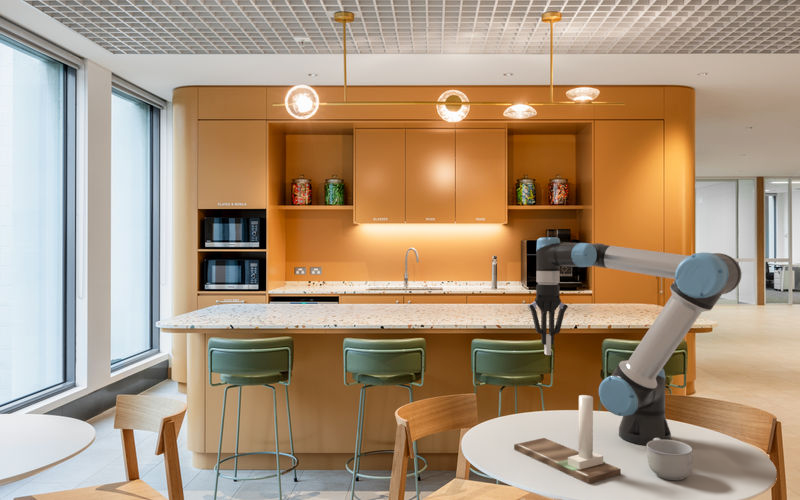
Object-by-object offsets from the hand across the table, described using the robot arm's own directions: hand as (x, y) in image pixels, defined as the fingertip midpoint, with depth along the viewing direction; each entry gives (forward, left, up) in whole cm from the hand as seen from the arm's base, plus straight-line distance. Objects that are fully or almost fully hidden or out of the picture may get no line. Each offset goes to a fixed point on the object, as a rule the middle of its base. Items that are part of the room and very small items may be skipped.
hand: (547, 354), depth 186 cm
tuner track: (+3, +30, -24) cm, 39 cm away
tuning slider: (-1, +37, -23) cm, 43 cm away
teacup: (-22, +38, -25) cm, 50 cm away
